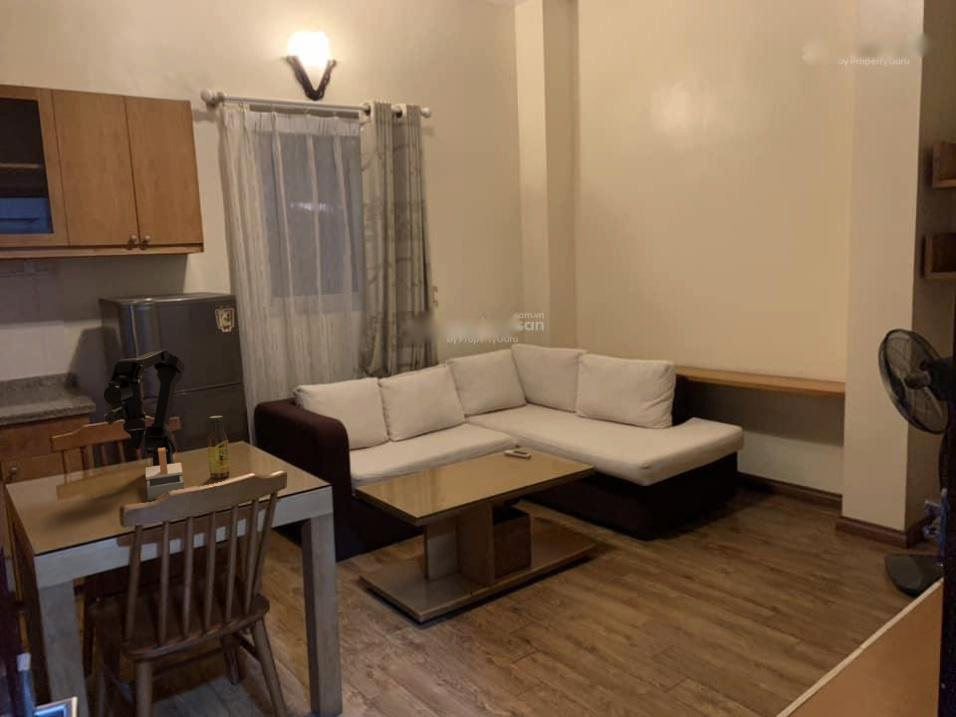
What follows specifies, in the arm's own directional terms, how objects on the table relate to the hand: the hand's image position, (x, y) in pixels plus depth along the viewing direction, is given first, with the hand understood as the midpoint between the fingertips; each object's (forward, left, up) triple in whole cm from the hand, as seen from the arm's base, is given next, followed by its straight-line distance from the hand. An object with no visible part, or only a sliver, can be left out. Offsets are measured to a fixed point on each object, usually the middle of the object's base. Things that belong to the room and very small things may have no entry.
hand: (137, 446), depth 229 cm
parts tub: (+8, +15, -12) cm, 21 cm away
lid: (+2, +10, -8) cm, 13 cm away
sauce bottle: (-9, +23, -12) cm, 28 cm away
